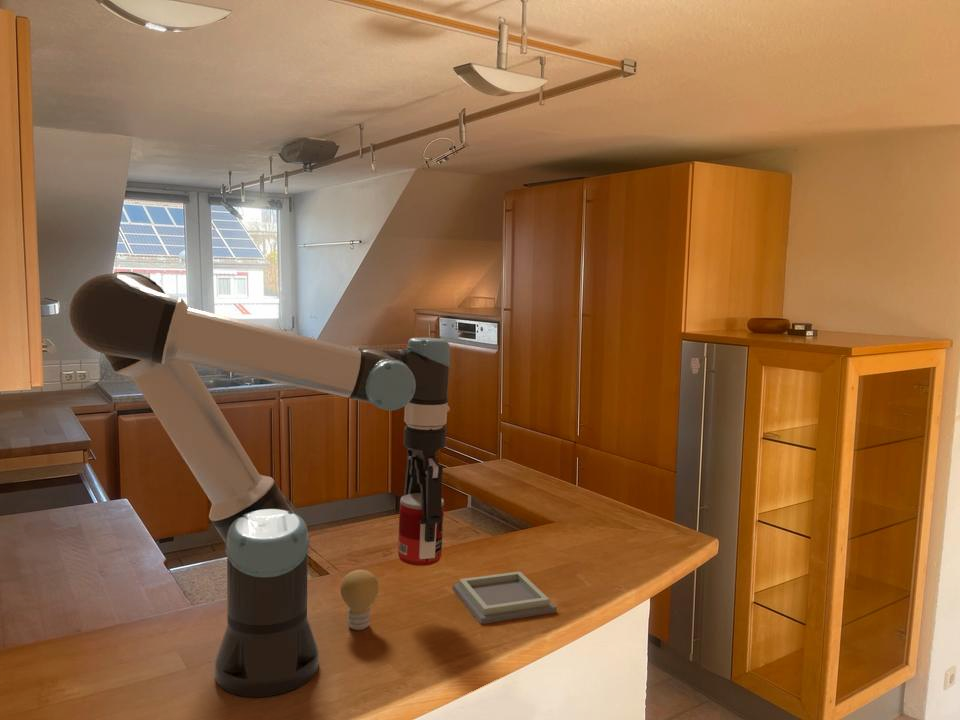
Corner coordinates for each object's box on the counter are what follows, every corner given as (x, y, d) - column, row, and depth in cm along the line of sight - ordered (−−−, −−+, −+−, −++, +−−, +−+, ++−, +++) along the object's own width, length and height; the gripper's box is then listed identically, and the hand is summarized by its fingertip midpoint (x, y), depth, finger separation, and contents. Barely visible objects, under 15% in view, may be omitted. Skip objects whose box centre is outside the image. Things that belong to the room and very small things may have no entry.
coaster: (480, 624, 127) (481, 612, 126) (452, 588, 140) (452, 577, 140) (556, 612, 132) (556, 600, 132) (521, 579, 146) (522, 568, 146)
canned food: (435, 569, 125) (438, 508, 124) (391, 563, 127) (394, 503, 126) (446, 553, 133) (449, 495, 132) (404, 547, 134) (407, 490, 133)
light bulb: (363, 614, 129) (364, 560, 127) (384, 627, 124) (386, 572, 123) (332, 625, 124) (333, 570, 123) (354, 639, 120) (355, 582, 118)
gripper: (465, 437, 119) (458, 569, 122) (428, 413, 138) (422, 527, 141) (422, 438, 116) (416, 573, 119) (390, 414, 135) (385, 530, 138)
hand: (419, 548), depth 130 cm, fingers closed on canned food, 8 cm apart
